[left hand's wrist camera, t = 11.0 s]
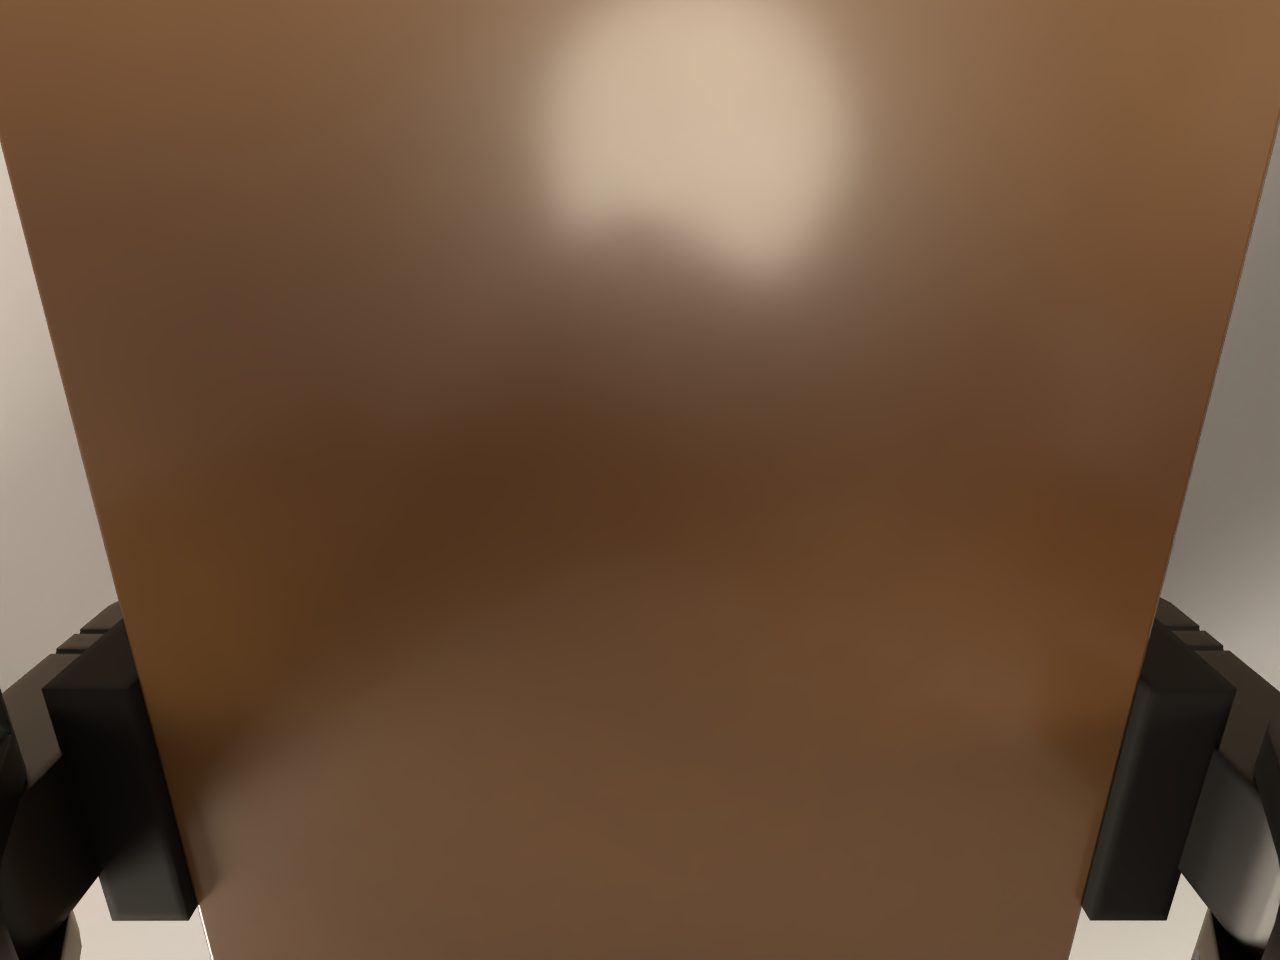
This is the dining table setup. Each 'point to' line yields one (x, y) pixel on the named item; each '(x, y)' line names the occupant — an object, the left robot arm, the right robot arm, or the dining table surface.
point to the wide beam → (638, 446)
